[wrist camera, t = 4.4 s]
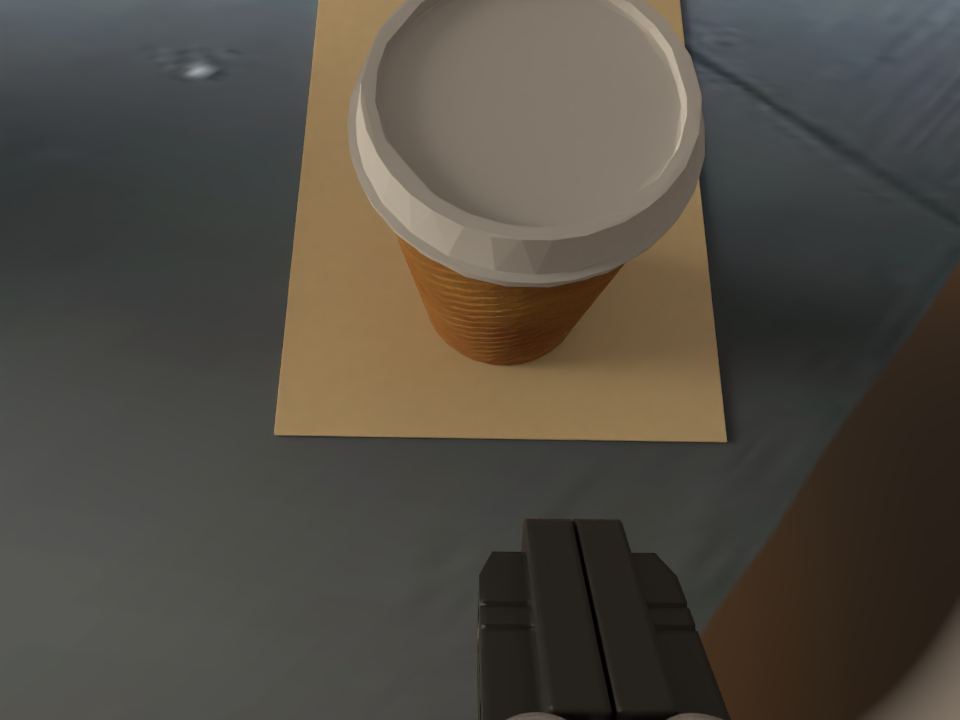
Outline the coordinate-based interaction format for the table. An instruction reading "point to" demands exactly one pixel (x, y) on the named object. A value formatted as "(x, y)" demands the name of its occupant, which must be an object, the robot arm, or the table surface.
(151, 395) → the table surface
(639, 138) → the disposable coffee cup
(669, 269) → the placemat
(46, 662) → the table surface
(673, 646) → the robot arm
